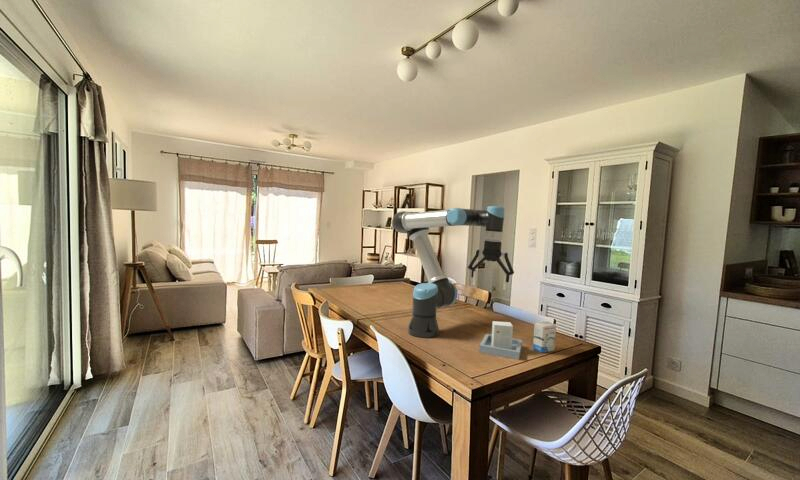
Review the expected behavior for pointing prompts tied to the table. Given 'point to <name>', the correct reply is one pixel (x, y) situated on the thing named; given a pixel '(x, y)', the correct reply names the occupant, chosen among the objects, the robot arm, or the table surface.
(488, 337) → the tray
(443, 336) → the table surface
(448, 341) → the table surface
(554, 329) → the ink box
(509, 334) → the small box
